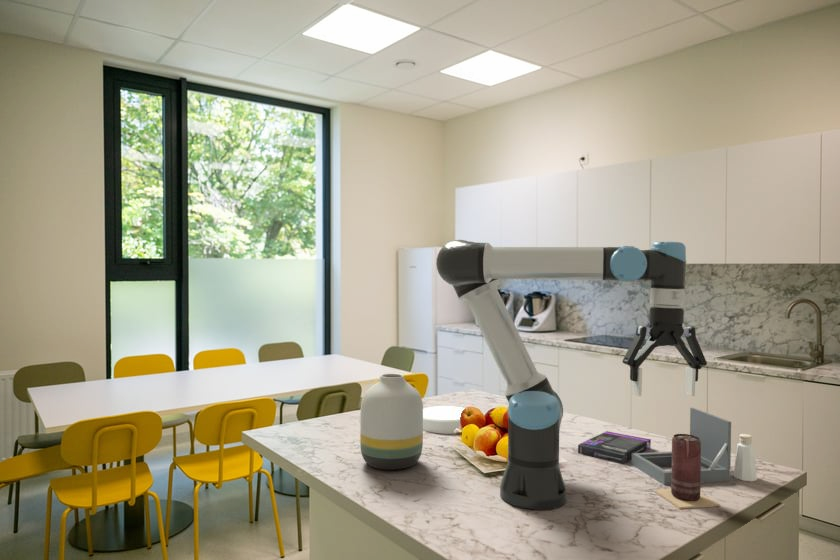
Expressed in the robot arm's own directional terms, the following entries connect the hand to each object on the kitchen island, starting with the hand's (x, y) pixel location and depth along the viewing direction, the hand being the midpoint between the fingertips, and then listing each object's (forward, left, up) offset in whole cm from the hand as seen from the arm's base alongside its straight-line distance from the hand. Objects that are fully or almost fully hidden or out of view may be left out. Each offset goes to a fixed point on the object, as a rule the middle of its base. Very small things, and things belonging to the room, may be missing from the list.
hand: (663, 395), depth 135 cm
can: (+3, -5, -23) cm, 24 cm away
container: (-39, +64, -24) cm, 79 cm away
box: (+4, +30, -24) cm, 39 cm away
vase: (-62, +28, -23) cm, 72 cm away
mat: (+3, -5, -23) cm, 24 cm away
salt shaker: (+26, +5, -23) cm, 36 cm away
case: (+12, +11, -23) cm, 28 cm away
